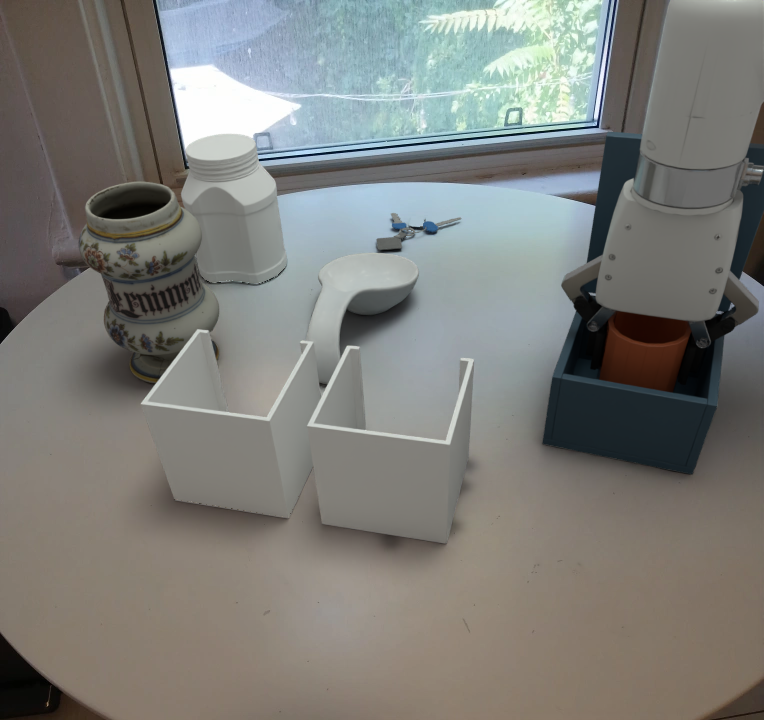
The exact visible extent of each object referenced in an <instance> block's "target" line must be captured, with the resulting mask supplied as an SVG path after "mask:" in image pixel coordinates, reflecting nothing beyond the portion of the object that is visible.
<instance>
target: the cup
mask: <svg viewBox="0 0 764 720" xmlns="http://www.w3.org/2000/svg"><path fill="white" fill-rule="evenodd" d="M690 336H691V329H690V326H689V323H688V321H684V320H676V319H669V318H662V317H655V316H648V315H641V314H634V313H628V312H621V311H616V312H615V313H614V314H613V315H612V316H611V317H610V318H609V320H608V322H607V327H606V334H605V339H604V344H603V349H602V354H601V359H600V364H599V368H598V373H597V378H596V379H597V380H603V381H609V382H614V383H620V384H626V385H631V386H637V387H643V388H649V389H654V390H660V391H666V392H671V393H674V390H675V387H676V383H677V380H678V376H679V372H680V369H681V366H682V362H683V359H684V355H685V352H686V349H687V345H688V342H689V339H690Z"/></svg>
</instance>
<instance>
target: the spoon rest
mask: <svg viewBox="0 0 764 720" xmlns="http://www.w3.org/2000/svg"><path fill="white" fill-rule="evenodd" d="M419 276H420V270H419V267H418V265H417V264H416V263H415V262H414V261H412V260H411V259H409V258H407V257H405V256H401V255H397V254H394V253H383V252H360V253H352V254H346V255H344V256H341V257H338V258H335V259H333V260H331V261H329V262H328V263H326V264H325V265H324V266H322V268H320V270H319V272H318V274H317V280H318V282H319V285H320V286H321V290H320V293H319V294H318V297H317V300H316V302H315V305H314V308H313V312H312V315H311V318H310V321H309V325H308V328H307V333H306V336H305V341H311V342H314V349H315V357H316V364H317V372H318V380H319V384H324V385H328V383H329V381H330V379H331V377H332V375H333V373H334V371H335V369H336V367H337V365H338V363H339V361H340V359H341V357H342V355H341V350H340V349H341V348H340V334H341V329H342V328H341V327H342V324H343V320H344V317H345V314H346V311H349V312H351V313H353V314H355V315H360V316H373V315H378V314H379V315H380V314H382V313H385V312H386V311H389V310H390V309H391V308H393V307H394V306H397V305H398V304H399V303H401V302H402V301H403V300H405V298H407V297H408V296H409V294H410V293H411V292H412V291H413V289H414V288H415V285H416V284H417V281H418V280H419Z"/></svg>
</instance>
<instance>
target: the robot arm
mask: <svg viewBox="0 0 764 720" xmlns="http://www.w3.org/2000/svg"><path fill="white" fill-rule="evenodd" d="M665 13H666V14H665V17H664V22H663V28H662V32H661V38H660V41H659V47H658V53H657V57H656V64H655V67H654V73H653V79H652V84H651V88H650V93H649V97H648V104H647V108H646V115H645V119H644V123H643V124H644V125H643V130H642V133H641V134H642V139H641V145H640V149H639V154H638V160H637V165H636V170H635V175H634V178H633V179H630V180H628V181H627V182H625V184H624V186H623V188H622V190H621V193H620V196H619V198H618V201H617V204H616V207H615V210H614V213H613V217H612V220H611V224H610V228H609V232H608V236H607V240H606V244H605V248H604V252H603V255H601V256H599V257H597V258H595V259H594V260H592V261H590V262H588V263H587V262H585V264H583V265H581V266H579V267H578V268H575V269H574V270H572V271H569V272H568V273H566V274H565V275H564V277H563V279H562V281H561V284H560V286H561V289H562V290H563V292H564V293H565V295H566V296H567V298H568V299H569V301H570V302H571V303H572V305H573V308H574V310H575V312H576V311H577V312H578V313H579V315H580V316H581V317H582V318H583V319H584V321H585V322H586V323H587V328H588V330H589V331H590V332H589V338H588V343H587V349H586V355H587V356H592V361H591V366H590V369H592V370H596V369H598V367H599V364H600V359H601V354H602V349H603V344H604V339H605V334H606V327H607V322H608V320H609V318H610V317H611V316H612V315H613V314H614V313H615V312H616V311H621V312H628V313H634V314H641V315H648V316H655V317H662V318H669V319H676V320H684V321H688V323H689V326H690V329H691V336H690V339H689V342H688V345H687V349H686V352H685V355H684V359H683V362H682V366H681V369H680V372H679V376H678V382H679V384H682V385H686V381H687V378H688V375H689V372H692V373H697V371H698V368H699V365H700V361H701V358H702V355H703V352H704V349H705V348H707V347H708V346H709V345H710V343H711V342H713V341H714V340H716V339H718V338H720V337H722V336H724V335H725V336H726V335H728V334H730V333H731V332H733V331H734V330H735V328H736V327H738V326H741V325H742V324H744V323H745V322H747V321H748V320H750V319H751V318H753V317H754V316H756V315H757V314H758V313H759V312H760V311H759V310H760V309H759V307H760V301H759V299H758V298H757V297H756V296H755V295H754V294H753V293H752V292H751V291H750V290H749V288H748V287H746V286H745V284H743V282H742V281H741V280H739V279H738V278H737V277H736V276H735V275H734V274H733V273H732V272H731V271H730V267H731V263H732V259H733V255H734V250H735V246H736V242H737V237H738V231H739V226H740V221H741V215H742V207H743V193H742V192H741V191H740V190H741V187H742V186H748V184H749V185H759V183H760V180H761V177H762V174H763V170H764V166H759V165H754V163H748V162H749V158H745V157H746V154H747V151H748V148H749V144H750V143H751V141H752V138H753V134H754V130H755V127H756V124H757V120H758V118H759V114H760V110H761V107H762V104H763V103H764V0H669V3H668V5H667V10H666V12H665ZM596 278H598V280H597V287H596V294H595V296H596V301H597V302H596V301H595V300H594V299H593V297H592V296H591V295H592V294H591V293H588V292H587V291H585V288H584V286H583V285H584V284H586V283H588V282H590V281H592V280H594V279H596ZM723 294H724V295H725V296H726V297H727V298H728V300H729V301H730V302H731V305H733V306H732V307H730V309H729V311H725V312H721V313H718V311H717V310H718V308H719V305H720V302H721V299H722V296H723ZM716 313H718V314H719V315H718V316H716V317H714V316H715V314H716ZM713 317H714V318H713ZM711 318H712V319H711ZM725 336H724V337H725Z"/></svg>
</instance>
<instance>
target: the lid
mask: <svg viewBox="0 0 764 720" xmlns="http://www.w3.org/2000/svg"><path fill="white" fill-rule="evenodd" d="M642 134H643V133H633V132H618V131H611V130H610V131H607V133H606V136H605V140H604V141H605V142H604V146H603V147H604V148H603V154H602V159H601V167H600V172H599V173H600V174H599V180H598V187H597V193H596V199H595V205H594V214H593V219H592V226H591V232H590V238H589V245H588V251H587V258H586V263H588V262H590V261H592V260H594V259H595V258H597V257H599V256H601V255H603V252H604V248H605V244H606V240H607V236H608V232H609V228H610V224H611V220H612V217H613V213H614V210H615V207H616V204H617V201H618V198H619V196H620V193H621V190H622V188H623V186H624V184H625V182H627V181H628V180H630V179H633V178H634V175H635V170H636V165H637V160H638V154H639V149H640V145H641V139H642ZM745 158H749V162H748V163H754V165H759V166H764V143H752V142H750V144H749V148H748V151H747V154H746V157H745ZM740 191H741V192H742V193H743V207H742V215H741V221H740V226H739V231H738V237H737V242H736V246H735V250H734V255H733V259H732V263H731V267H730V271H731V272H732V273H733V274H734V275H735V276H736V277H737V278H738V279H739V281H741V277H742V274H743V271H744V268H745V266H746V262H747V260H748V257H749V255H750V252H751V249H752V246H753V244H754V240H755V237H756V235H757V232H758V229H759V226H760V224H761V221H762V218H763V215H764V170H763V174H762V177H761V180H760V183H759V185H749V184H748V186H742V187H741V190H740ZM597 280H598V278H596V279H594V280H592V281H590V282H588V283H586V284H584V285H583V286H584V288H585V291H587V292H588V293H589V294H594V295H596V287H597ZM731 305H732V303H731V302H730V301H729V300H728V298H727V297H726V296H725V295H724V294H723V296H722V299H721V302H720V305H719V308H718V310H717V312H721V313H723V312H725V311H729V310H730V309H731Z"/></svg>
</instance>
